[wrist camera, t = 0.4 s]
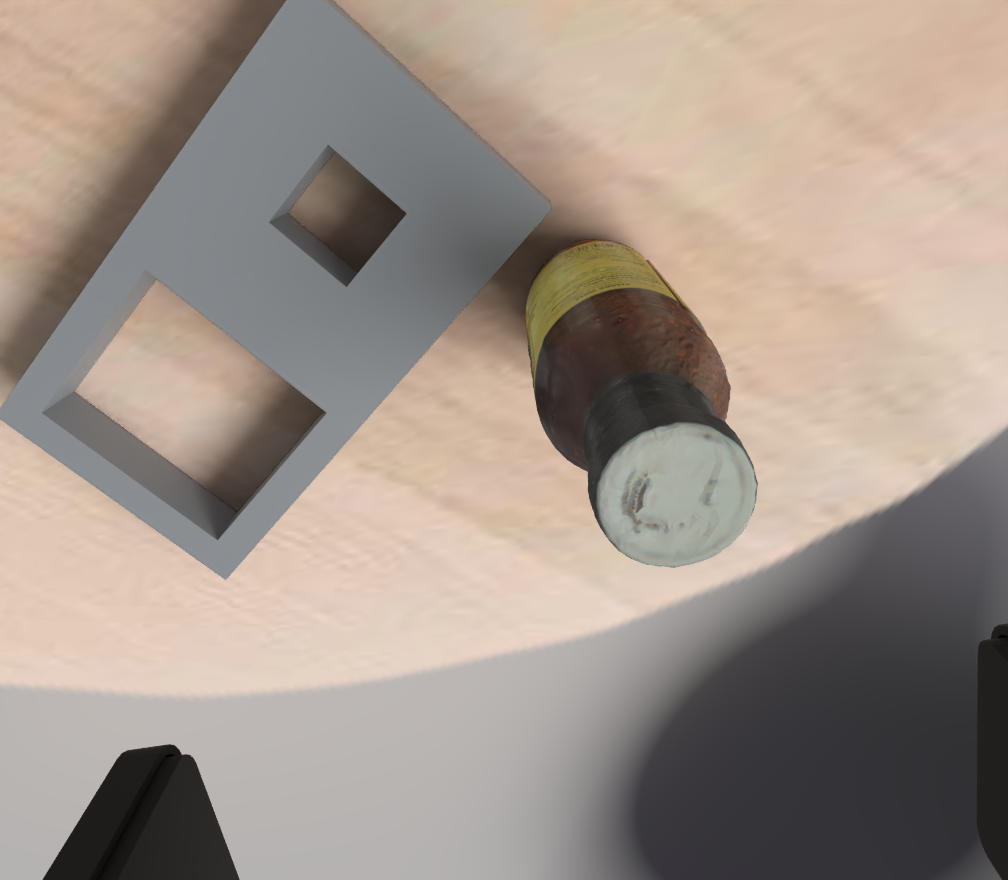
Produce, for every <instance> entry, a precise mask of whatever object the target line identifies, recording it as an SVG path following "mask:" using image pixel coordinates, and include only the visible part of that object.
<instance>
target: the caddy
mask: <svg viewBox="0 0 1008 880" xmlns="http://www.w3.org/2000/svg"><path fill="white" fill-rule="evenodd" d="M335 151H336V152H337V153H338V154H339V155H340V156H342V157H343V158H344V159H345V160H346V161H347V162H348V163H350V164H351V165H352V166H353V167H354V168H355V169H356V170H358V171H359V172H360V173H361V174H362V175H363V176H364V177H366V178H367V179H368V180H369V181H370V182H371V183H372V184H374V185H375V186H376V187H377V188H378V189H379V190H380V191H382V192H383V193H384V194H385V195H386V196H387V197H388V198H390V199H391V200H392V201H393V202H394V203H395V204H396V205H398V206H399V207H400V208H401V209H402V210H403V211H404V212H406V213H407V214H406V215H405V216H404V218H403V219H402V220H401V221H400V222H399V224H398V225H397V226H396V227H395V229H394V230H393V231H392V232H391V233H390V235H389V236H388V237H387V238H386V240H385V241H384V242H383V243H382V244H381V246H380V247H379V248H378V249H377V251H376V252H375V253H374V254H373V255H372V257H371V258H370V259H369V260H368V262H367V263H366V264H365V265H364V266H363V268H362V269H361V270H360V271H359V273H358V272H357V271H356V270H354V269H353V268H352V267H351V266H350V265H348V264H347V263H346V262H345V261H344V260H342V259H341V258H340V257H339V256H338V255H337V254H335V253H334V252H333V251H332V250H331V249H329V248H328V247H327V246H326V245H325V244H324V243H322V242H321V241H320V240H319V239H318V238H316V237H315V236H314V235H313V234H312V233H310V232H309V231H308V230H307V229H306V228H305V227H303V226H302V225H301V224H300V223H299V222H297V221H296V220H295V219H294V218H293V217H291V216H290V215H289V214H288V212H289V210H290V209H291V208H292V207H293V205H294V204H295V203H296V201H297V200H298V199H299V197H300V196H301V195H302V194H303V192H304V191H305V190H306V188H307V187H308V186H309V184H310V183H311V182H312V180H313V179H314V178H315V177H316V175H317V174H318V173H319V171H320V170H321V169H322V167H323V166H324V165H325V164H326V162H327V161H328V160H329V158H330V157H331V156H332V154H333V153H334V152H335ZM550 210H551V204H550V200H549V199H547V198H546V197H545V196H544V195H543V194H542V193H541V192H540V191H539V190H538V189H537V188H536V187H534V186H533V185H532V184H531V183H530V182H529V181H528V180H527V179H526V178H525V177H524V176H523V175H521V174H520V173H519V172H518V171H517V170H516V169H515V168H514V167H513V166H512V165H511V164H510V163H508V162H507V161H506V160H505V159H504V158H503V157H502V156H501V155H500V154H499V153H498V152H497V151H495V150H494V149H493V148H492V147H491V146H490V145H489V144H488V143H487V142H486V141H485V140H484V139H482V138H481V137H480V136H479V135H478V134H477V133H476V132H475V131H474V130H473V129H472V128H471V127H470V126H468V125H467V124H466V123H465V122H464V121H463V120H462V119H461V118H460V117H459V116H458V115H457V114H455V113H454V112H453V111H452V110H451V109H450V108H449V107H448V106H447V105H446V104H445V103H444V102H442V101H441V100H440V99H439V98H438V97H437V96H436V95H435V94H434V93H433V92H432V91H431V90H429V89H428V88H427V87H426V86H425V85H424V84H423V83H422V82H421V81H420V80H419V79H418V78H416V77H415V76H414V75H413V74H412V73H411V72H410V71H409V70H408V69H407V68H406V67H405V66H403V65H402V64H401V63H400V62H399V61H398V60H397V59H396V58H395V57H394V56H393V55H392V54H390V53H389V52H388V51H387V50H386V49H385V48H384V47H383V46H382V45H381V44H380V43H379V42H377V41H376V40H375V39H374V38H373V37H372V36H371V35H370V34H369V33H368V32H367V31H366V30H364V29H363V28H362V27H361V26H360V25H359V24H358V23H357V22H356V21H355V20H354V19H353V18H351V17H350V16H349V15H348V14H347V13H346V12H345V11H344V10H343V9H342V8H341V7H340V6H338V5H337V4H336V3H335V2H334V1H333V0H286V1H285V3H284V4H283V6H282V7H281V9H280V10H279V11H278V13H277V14H276V16H275V17H274V19H273V20H272V21H271V23H270V24H269V26H268V27H267V28H266V30H265V31H264V33H263V34H262V36H261V37H260V38H259V40H258V41H257V43H256V44H255V46H254V47H253V48H252V50H251V51H250V53H249V54H248V56H247V57H246V58H245V60H244V61H243V63H242V64H241V66H240V67H239V68H238V70H237V71H236V73H235V74H234V76H233V77H232V78H231V80H230V81H229V83H228V84H227V86H226V87H225V88H224V90H223V91H222V93H221V94H220V95H219V97H218V98H217V100H216V101H215V103H214V104H213V105H212V107H211V108H210V110H209V111H208V113H207V114H206V115H205V117H204V118H203V120H202V121H201V123H200V124H199V125H198V127H197V128H196V130H195V131H194V133H193V134H192V135H191V137H190V138H189V140H188V141H187V143H186V144H185V145H184V147H183V148H182V150H181V151H180V153H179V154H178V155H177V157H176V158H175V160H174V161H173V162H172V164H171V165H170V167H169V168H168V170H167V171H166V172H165V174H164V175H163V177H162V178H161V180H160V181H159V182H158V184H157V185H156V187H155V188H154V190H153V191H152V192H151V194H150V195H149V197H148V198H147V200H146V201H145V202H144V204H143V205H142V207H141V208H140V210H139V211H138V212H137V214H136V215H135V217H134V218H133V220H132V221H131V222H130V224H129V225H128V227H127V228H126V229H125V231H124V232H123V234H122V235H121V237H120V238H119V239H118V241H117V242H116V244H115V245H114V247H113V248H112V249H111V251H110V252H109V254H108V255H107V257H106V258H105V259H104V261H103V262H102V264H101V265H100V267H99V268H98V269H97V271H96V272H95V274H94V275H93V277H92V278H91V279H90V281H89V282H88V284H87V285H86V287H85V288H84V289H83V291H82V292H81V294H80V295H79V296H78V298H77V299H76V301H75V302H74V304H73V305H72V306H71V308H70V309H69V311H68V312H67V314H66V315H65V316H64V318H63V319H62V321H61V322H60V324H59V325H58V326H57V328H56V329H55V331H54V332H53V334H52V335H51V336H50V338H49V339H48V341H47V342H46V344H45V345H44V346H43V348H42V349H41V351H40V352H39V353H38V355H37V356H36V358H35V359H34V361H33V362H32V363H31V365H30V366H29V368H28V369H27V371H26V372H25V373H24V375H23V376H22V378H21V379H20V381H19V382H18V383H17V385H16V386H15V388H14V389H13V391H12V392H11V393H10V395H9V396H8V398H7V399H6V401H5V402H4V403H3V405H2V406H1V408H0V419H1V420H2V421H4V422H5V423H6V424H8V425H9V426H11V427H12V428H13V429H15V430H16V431H18V432H19V433H20V434H22V435H23V436H25V437H26V438H27V439H29V440H30V441H32V442H33V443H34V444H36V445H37V446H39V447H40V448H41V449H43V450H44V451H46V452H47V453H48V454H50V455H51V456H53V457H54V458H55V459H57V460H58V461H60V462H61V463H62V464H64V465H65V466H67V467H68V468H69V469H71V470H72V471H74V472H75V473H76V474H78V475H79V476H81V477H82V478H84V479H85V480H86V481H88V482H89V483H91V484H92V485H93V486H95V487H96V488H98V489H99V490H100V491H102V492H103V493H105V494H106V495H107V496H109V497H110V498H112V499H113V500H114V501H116V502H117V503H119V504H120V505H121V506H123V507H124V508H126V509H127V510H128V511H130V512H131V513H133V514H134V515H135V516H137V517H138V518H140V519H141V520H142V521H144V522H145V523H147V524H148V525H149V526H151V527H152V528H154V529H155V530H156V531H158V532H159V533H161V534H162V535H163V536H165V537H166V538H168V539H169V540H170V541H172V542H173V543H175V544H176V545H177V546H179V547H180V548H182V549H183V550H184V551H186V552H187V553H189V554H190V555H191V556H193V557H194V558H196V559H197V560H198V561H200V562H201V563H203V564H204V565H205V566H207V567H208V568H210V569H211V570H212V571H214V572H215V573H217V574H218V575H219V576H221V577H222V578H224V579H225V580H226V579H227V578H228V577H229V576H230V575H231V573H232V572H233V571H234V570H235V569H236V568H237V567H238V565H239V564H240V563H241V562H242V561H243V560H244V559H245V557H246V556H247V555H248V554H249V553H250V552H251V551H252V549H253V548H254V547H255V546H256V545H257V544H258V543H259V542H260V540H261V539H262V538H263V537H264V536H265V535H266V534H267V532H268V531H269V530H270V529H271V528H272V527H273V526H274V524H275V523H276V522H277V521H278V520H279V519H280V518H281V516H282V515H283V514H284V513H285V512H286V511H287V510H288V508H289V507H290V506H291V505H292V504H293V503H294V502H295V501H296V499H297V498H298V497H299V496H300V495H301V494H302V493H303V491H304V490H305V489H306V488H307V487H308V486H309V485H310V483H311V482H312V481H313V480H314V479H315V478H316V477H317V475H318V474H319V473H320V472H321V471H322V470H323V469H324V468H325V466H326V465H327V464H328V463H329V462H330V461H331V460H332V458H333V457H334V456H335V455H336V454H337V453H338V452H339V450H340V449H341V448H342V447H343V446H344V445H345V444H346V442H347V441H348V440H349V439H350V438H351V437H352V436H353V434H354V433H355V432H356V431H357V430H358V429H359V428H360V427H361V425H362V424H363V423H364V422H365V421H366V420H367V419H368V417H369V416H370V415H371V414H372V413H373V412H374V411H375V409H376V408H377V407H378V406H379V405H380V404H381V403H382V401H383V400H384V399H385V398H386V397H387V396H388V395H389V393H390V392H391V391H392V390H393V389H394V388H395V387H396V386H397V384H398V383H399V382H400V381H401V380H402V379H403V378H404V376H405V375H406V374H407V373H408V372H409V371H410V370H411V368H412V367H413V366H414V365H415V364H416V363H417V362H418V360H419V359H420V358H421V357H422V356H423V355H424V354H425V352H426V351H427V350H428V349H429V348H430V347H431V346H432V345H433V343H434V342H435V341H436V340H437V339H438V338H439V337H440V335H441V334H442V333H443V332H444V331H445V330H446V329H447V327H448V326H449V325H450V324H451V323H452V322H453V321H454V319H455V318H456V317H457V316H458V315H459V314H460V313H461V311H462V310H463V309H464V308H465V307H466V306H467V305H468V304H469V302H470V301H471V300H472V299H473V298H474V297H475V296H476V294H477V293H478V292H479V291H480V290H481V289H482V288H483V286H484V285H485V284H486V283H487V282H488V281H489V280H490V278H491V277H492V276H493V275H494V274H495V273H496V272H497V270H498V269H499V268H500V267H501V266H502V265H503V264H504V263H505V261H506V260H507V259H508V258H509V257H510V256H511V255H512V253H513V252H514V251H515V250H516V249H517V248H518V247H519V245H520V244H521V243H522V242H523V241H524V240H525V239H526V237H527V236H528V235H529V234H530V233H531V232H532V231H533V229H534V228H535V227H536V226H537V225H538V224H539V223H540V222H541V220H542V219H543V218H544V217H545V216H546V215H547V214H548V212H549V211H550ZM156 279H158V280H159V281H160V282H162V283H163V284H164V285H165V286H167V287H168V288H169V289H170V290H172V291H173V292H174V293H176V294H177V295H178V296H179V297H181V298H182V299H183V300H184V301H186V302H187V303H188V304H189V305H191V306H192V307H193V308H195V309H196V310H197V311H198V312H200V313H201V314H202V315H203V316H205V317H206V318H207V319H208V320H210V321H211V322H212V323H213V324H215V325H216V326H217V327H219V328H220V329H221V330H222V331H224V332H225V333H226V334H227V335H229V336H230V337H231V338H232V339H234V340H235V341H236V342H238V343H239V344H240V345H241V346H243V347H244V348H245V349H246V350H248V351H249V352H250V353H251V354H253V355H254V356H255V357H257V358H258V359H259V360H260V361H262V362H263V363H264V364H265V365H267V366H268V367H269V368H270V369H272V370H273V371H274V372H276V373H277V374H278V375H279V376H281V377H282V378H283V379H284V380H286V381H287V382H288V383H289V384H291V385H292V386H293V387H295V388H296V389H297V390H298V391H300V392H301V393H302V394H303V395H305V396H306V397H307V398H308V399H310V400H311V401H312V402H314V403H315V404H316V405H317V406H319V407H320V408H321V409H322V410H324V411H323V413H322V414H321V415H320V416H319V417H318V418H317V420H316V421H315V422H314V423H313V424H312V425H311V427H310V428H309V429H308V430H307V431H306V432H305V434H304V435H303V436H302V437H301V438H300V439H299V441H298V442H297V443H296V444H295V445H294V447H293V448H292V449H291V450H290V451H289V452H288V454H287V455H286V456H285V457H284V458H283V459H282V461H281V462H280V463H279V464H278V465H277V466H276V468H275V469H274V470H273V471H272V472H271V473H270V475H269V476H268V477H267V478H266V479H265V480H264V482H263V483H262V484H261V485H260V486H259V487H258V489H257V490H256V491H255V492H254V493H253V494H252V496H251V497H250V498H249V499H248V500H247V502H246V503H245V504H244V505H243V506H242V507H241V509H240V510H239V511H238V512H236V511H235V510H234V509H232V508H231V507H230V506H228V505H227V504H226V503H224V502H223V501H222V500H220V499H219V498H217V497H216V496H215V495H213V494H212V493H211V492H209V491H208V490H207V489H205V488H204V487H203V486H201V485H200V484H198V483H197V482H196V481H194V480H193V479H192V478H190V477H189V476H188V475H186V474H185V473H184V472H182V471H181V470H179V469H178V468H177V467H175V466H174V465H173V464H171V463H170V462H169V461H167V460H166V459H165V458H163V457H162V456H160V455H159V454H158V453H156V452H155V451H154V450H152V449H151V448H150V447H148V446H147V445H146V444H144V443H143V442H141V441H140V440H139V439H137V438H136V437H135V436H133V435H132V434H131V433H129V432H128V431H127V430H125V429H124V428H122V427H121V426H120V425H118V424H117V423H116V422H114V421H113V420H112V419H110V418H109V417H108V416H106V415H105V414H103V413H102V412H101V411H99V410H98V409H97V408H95V407H94V406H93V405H91V404H90V403H89V402H87V401H86V400H84V399H83V398H82V397H80V396H79V395H78V394H76V393H75V392H74V391H75V390H76V388H77V387H78V386H79V384H80V383H81V381H82V380H83V379H84V377H85V376H86V375H87V373H88V372H89V370H90V369H91V368H92V366H93V365H94V364H95V362H96V361H97V360H98V358H99V357H100V355H101V354H102V353H103V351H104V350H105V349H106V347H107V346H108V344H109V343H110V342H111V340H112V339H113V338H114V336H115V335H116V334H117V332H118V331H119V329H120V328H121V327H122V325H123V324H124V323H125V321H126V320H127V318H128V317H129V316H130V314H131V313H132V312H133V310H134V309H135V308H136V306H137V305H138V303H139V302H140V301H141V299H142V298H143V297H144V295H145V294H146V292H147V291H148V290H149V288H150V287H151V286H152V284H153V283H154V282H155V280H156Z"/></svg>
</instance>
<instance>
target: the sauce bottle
mask: <svg viewBox="0 0 1008 880" xmlns="http://www.w3.org/2000/svg"><path fill="white" fill-rule="evenodd" d="M525 323H526V330H527V337H528V348H529V349H528V351H529V356H530V360H531V373H532V378H533V388H534V394H535V400H536V406H537V411H538V414H539V418H540V421H541V424H542V426H543V428H544V430H545V432H546V434H547V436H548V438H549V439H550V441H551V442H552V444H553V445H554V447H555V448H556V449H557V450H558V451H559V452H560V453H561V454H562V455H563V456H564V457H565V458H566V459H567V460H568V461H570V462H571V463H573V464H574V465H576V466H578V467H580V468H581V469H583V470H585V471H587V472H588V493H589V499H590V502H591V506H592V509H593V511H594V515H595V518H596V520H597V522H598V524H599V526H600V528H601V529H602V531H603V532H604V534H605V535H606V537H607V538H608V539H609V541H610V542H611V543H612V544H613V545H614V546H615V547H616V548H617V550H618V551H620V552H622V553H623V554H625V555H626V556H628V557H629V558H631V559H633V560H636V561H638V562H641V563H644V564H646V565H655V566H665V567H673V568H674V567H679V566H684V565H689V564H694V563H697V562H700V561H703V560H706V559H708V558H711V557H713V556H715V555H717V554H718V553H720V552H721V551H722V550H723V549H725V548H726V547H728V546H730V545H731V544H732V543H733V542H734V541H735V540H736V538H737V537H738V536H739V535H740V534H741V533H742V531H743V530H744V528H745V527H746V526H747V524H748V522H749V520H750V517H751V515H752V512H753V510H754V507H755V502H756V493H757V485H758V483H757V479H756V476H755V472H754V467H753V464H752V462H751V460H750V457H749V456H748V454H747V452H746V450H745V448H744V447H743V445H742V443H741V441H740V439H739V438H738V437H737V435H736V433H735V432H734V431H733V430H732V429H731V428H730V427H729V426H728V425H727V424H726V422H725V419H726V418H727V412H728V405H729V400H730V389H731V387H730V384H729V382H728V379H727V376H726V370H725V366H724V364H723V362H722V360H721V357H720V355H719V354H718V351H717V349H716V347H715V346H714V344H713V342H712V340H711V339H710V338H709V337H708V336H707V333H706V331H705V330H704V328H703V326H702V325H701V323H700V321H699V320H698V319H697V317H696V316H695V315H694V314H693V312H692V311H691V310H690V309H689V308H688V306H687V305H686V304H685V303H684V302H683V300H682V299H681V298H680V297H679V296H678V294H677V293H676V292H675V291H674V289H673V288H672V287H671V286H670V285H669V283H668V282H667V281H666V280H665V279H664V278H663V277H662V275H661V274H660V273H659V272H658V271H657V269H656V268H655V267H654V266H653V264H652V263H651V262H650V261H649V260H645V259H644V257H643V256H642V255H641V254H640V253H639V252H637V251H635V250H634V249H632V248H630V247H628V246H625V245H623V244H620V243H616V242H612V241H601V240H583V241H579V242H574V243H573V244H572V245H570V246H568V247H566V248H564V249H563V250H561V251H559V252H558V253H556V254H555V255H554V256H553V257H552V258H550V259H549V260H547V262H546V263H545V264H544V265H543V266H542V267H541V268H540V269H539V270H538V272H537V275H536V277H535V279H534V280H533V282H532V287H531V289H530V292H529V295H528V298H527V303H526V312H525Z"/></svg>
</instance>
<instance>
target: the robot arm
mask: <svg viewBox="0 0 1008 880" xmlns="http://www.w3.org/2000/svg"><path fill="white" fill-rule="evenodd" d="M977 711H978V712H977V715H978V716H977V718H978V719H977V827H978V832H979V837H980V840H981V843H982V845H983V848H984V850H985V853H986V854H987V856H988V858H989V860H990V861H991V863H992V864H993V866H994V867H995V869H996V871H997V872H998V874H999V875H1000V877H1001V879H1002V880H1008V624H1002V625H998V626H996V627H995V628H994V630H993V632H992V636H991V639H990V640H984V641H982V642H980V644H979V647H978V710H977ZM43 880H239V877H238V874H237V871H236V869H235V866H234V864H233V861H232V858H231V856H230V853H229V850H228V847H227V845H226V842H225V839H224V837H223V834H222V831H221V829H220V826H219V823H218V821H217V818H216V815H215V812H214V810H213V807H212V804H211V802H210V799H209V796H208V794H207V791H206V789H205V786H204V783H203V780H202V778H201V775H200V772H199V770H198V767H197V764H196V762H195V760H194V758H193V757H191V756H190V755H187V754H186V755H182V754H181V752H180V750H179V749H178V748H177V747H176V746H175V745H162V746H155V747H148V748H141V749H134V750H128V751H126V752H123V753H122V754H121V755H120V756H119V758H118V759H117V760H116V762H115V763H114V765H113V767H112V768H111V770H110V772H109V773H108V775H107V776H106V778H105V780H104V781H103V783H102V785H101V786H100V788H99V789H98V791H97V792H96V794H95V796H94V797H93V799H92V801H91V802H90V804H89V806H88V807H87V809H86V810H85V812H84V813H83V815H82V817H81V818H80V820H79V822H78V823H77V825H76V827H75V828H74V830H73V831H72V833H71V834H70V836H69V838H68V839H67V841H66V843H65V844H64V846H63V847H62V849H61V851H60V852H59V854H58V856H57V857H56V859H55V860H54V862H53V864H52V865H51V867H50V868H49V870H48V872H47V874H46V875H45V877H44V878H43Z"/></svg>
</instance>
